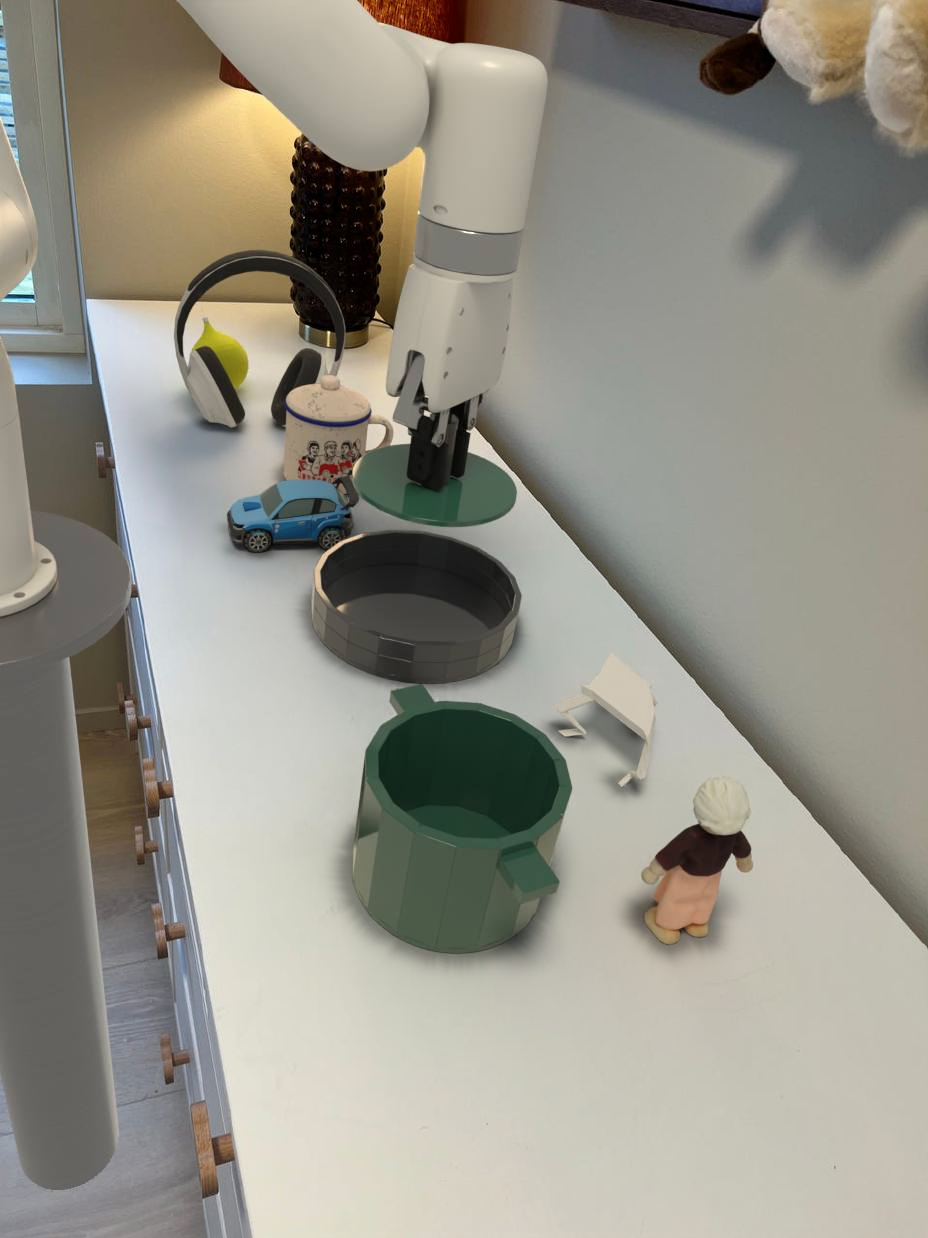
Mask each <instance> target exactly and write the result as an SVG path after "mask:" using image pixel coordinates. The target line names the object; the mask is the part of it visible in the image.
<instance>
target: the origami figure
mask: <svg viewBox="0 0 928 1238" xmlns="http://www.w3.org/2000/svg"><path fill="white" fill-rule="evenodd" d="M580 691H581V693H579V694H576V695H574V696H572V697H569V698H567V699H564V700H562V701H560V702H557V703H555V704H552V705H551V706H552V707H553V708H554V709H555V711H557V712H558V713H560V715H562V716H563V717H564V718H565V719H566V720H568V721H569V722H570V723H571V725H573V726H574V727H575V728H567V729H566V728H565V729H560V730H557V732H558V733H559V734H561V735H562V736H563V737H571V736H580V735H586V734H588V732H587V731H586V730H585V728H584V727H582V725H580V723H579V722H578V721H577V720H576V718H574V717H573V716H572V715H571V714H570V711H572V710H575V709H578V708H580V707H583V706H585V705H587V704H591V703H593V702H596V703H597V704H598V705H599V706H601V707H602V708H604V710H606V711H607V712H608V713H610V714H611V715H613V716H614V717H615V718H616V719H617V720H619V721H620V723H621V722H622V723H623V724H624V725H625V726H626V727H628V728H629V729H630V730H632V731H633V732H634V733H635V734H637V735H638V736H639V737H640V738H642V739H643V740H644V745H643V748H642V752H641V755H640V757H639V758H640V759H639V763H638V766H637V769H636V770H630V772H629V773H627V774H626V775H625V776H624V777H623V778H622V779H620V780H619V781H618V782H617V784H618V785H619V786H620V787H621V788H623V787H625V786H626V785H627V784H628V783H629V782H630V781H631V779H632V778H636V779H638V780H642V779H645V778H646V775H647V772H648V766H649V763H650V757H651V749H652V743H653V737H654V732H655V728H656V727H655V726H656V721H657V718H656V717H657V716H656V711H655V707H656V706H657V705H658V704H659V703H658V701H657V700H656V697H655V696H654V694H653V693H652V684H651V683H650V682H648V681H646V680H645V679H644V678H643V677H642V676H641V675H639V674H638V673H637V672H636V671H634V670H633V668H631V667H630V666H629V665H627V663H626V662H624V661H623V660H622V659H621V658H620V657H618V656H617V655H616V654H615V652H614V651H612V652H610V654H609V655H608V657H607V659H606V661H605V662H604V664H603V666H602V667H601V670H600V671H599V672H598V674H597V675H596V676H595V677H594V679H593V680H592V681H591V682H590V683H589V684H581V685H580Z"/></svg>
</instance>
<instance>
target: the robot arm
mask: <svg viewBox="0 0 928 1238" xmlns="http://www.w3.org/2000/svg"><path fill="white" fill-rule="evenodd" d="M176 2H177V3H178V4H179V5H180V7H182V8H183V9H184V10H185V11H186V12H187V14H188V15H189V16H190V17H191V18H192V19H193V20H194V22H195V23H196V24H197V25H198V26H199V28H200V29H201V30H202V31H203V32H204V33H205V35H206V36H207V37H208V38H209V40H211V41H212V43H213V44H214V45H215V46H216V47H217V49H218V50H219V51H220V52H221V53H222V55H223V56H224V57H226V58H227V60H228V61H229V62H230V64H232V65H233V66H234V68H236V70H238V72H239V73H241V75H242V76H243V77H244V78H245V79H246V80H247V81H248V82H249V83H250V84H251V86H253V87H254V88H255V89H256V90H257V91H258V92H259V93H260V94H261V95H262V96H263V97H264V98H265V99H266V100H267V101H269V103H270V104H271V105H273V106H274V108H276V110H278V112H280V113H281V114H282V115H283V116H284V117H285V118H286V119H287V120H288V121H289V122H290V123H291V124H292V125H293V126H294V127H295V128H296V129H297V130H298V131H299V132H300V133H301V134H302V135H304V137H306V138H307V140H309V141H310V142H311V143H312V144H313V145H315V147H316V148H317V149H319V150H320V151H321V152H322V153H323V154H325V155H326V156H328V157H329V158H330V159H331V160H332V161H333V160H334V161H336V162H337V163H339V164H341V165H342V166H344V167H348V168H350V169H353V170H356V171H361V172H377V171H378V172H379V171H382V170H386V169H389V168H392V167H394V166H397V165H398V164H400V163H401V162H402V161H404V160H405V159H406V158H407V157H408V156H409V155H410V154H411V153H412V152H413V151H414V150H415V148H420V149H421V151H422V153H423V164H422V174H421V182H420V189H419V190H420V191H419V200H418V209H417V216H416V217H417V219H416V225H415V227H416V228H415V237H414V245H413V253H412V254H413V256H412V262H413V263H412V264H410V265H409V266H408V269H407V272H406V274H405V278H404V282H403V285H402V289H401V292H400V296H399V301H398V304H397V308H396V309H397V310H396V315H395V319H394V325H393V331H392V336H391V343H390V349H389V354H388V355H389V356H388V362H387V369H386V377H385V378H386V379H385V391H386V393H387V395H388V396H390V397H391V398H398V399H397V403H396V406H395V409H394V410H393V414H392V422H394V423H396V424H399V425H401V426H403V427H406V429H407V435H408V436H410V443H409V444H410V451H409V459H408V467H407V477H408V479H410V480H412V481H414V482H416V483H419V484H421V485H423V486H426V487H428V488H430V489H432V490H435V491H437V490H439V489H441V488H442V487H443V481H444V474H445V467H446V460H447V453H448V446H449V445H448V444H446V443H444V440H445V435H446V429H447V423H448V417H449V413H451V414H454V415H455V416H457V417H458V418H459V424H458V431H457V438H456V444H455V451H454V458H453V464H452V471H451V476H453V477H456V478H460V477H462V476H463V475H464V473H465V466H466V460H467V454H468V452H469V446H470V439H471V435H472V433H471V431H473V429H474V428H475V425H476V423H477V415H478V408H479V407H480V406H481V404H482V403H483V401H482V400H483V399H484V396H486V394H487V393H488V392H489V391H490V390H491V389H492V388H493V387H494V386H495V385H496V384H497V383H498V382H499V380H500V377H501V374H502V369H503V367H504V360H505V356H506V350H507V343H508V337H509V329H510V320H511V312H512V300H513V285H514V279H515V278H516V277H517V272H518V265H519V258H520V254H521V248H522V241H523V236H524V229H525V224H526V217H527V212H528V207H529V202H530V201H529V200H530V195H531V189H532V185H533V177H534V173H535V172H534V171H535V165H536V160H537V154H538V148H539V144H540V143H539V142H540V138H541V137H540V135H541V130H542V124H543V118H544V113H545V106H546V100H547V94H548V85H549V81H548V72H547V69H546V67H545V65H544V64H543V63H542V61H541V60H540V59H538V58H536V57H535V56H533V55H531V54H528V53H525V52H523V51H519V50H516V49H511V48H506V47H501V46H495V45H489V44H482V43H481V44H480V43H472V42H457V43H450V42H446V41H442V40H438V39H435V38H431V37H427V36H423V35H421V34H418V33H415V32H412V31H410V30H406V29H403V28H400V27H397V26H394V25H391V24H387V23H383V22H378V21H377V20H376V19H375V18H374V16H372V14H370V12H369V11H368V10H367V9H366V8H365V7H364V6H363V5H362V4H361V2H360V1H358V0H176ZM25 184H26V183H25V182H24V179H23V176H22V173H21V171H20V168H19V165H18V162H17V159H16V157H15V153H14V151H13V148H12V145H11V142H10V139H9V137H8V134H7V130H6V128H5V125H4V122H3V119H2V117H1V115H0V303H1V302H2V301H3V300H4V299H5V297H7V296H8V295H9V294H10V293H11V292H13V291H14V290H15V289H16V288H17V287H18V286H19V285H20V284H21V283H22V282H24V280H25V278H27V276H28V275H29V274H30V272H31V270H32V269H33V267H34V265H35V263H36V260H37V256H38V252H39V231H38V230H39V229H38V224H37V220H36V215H35V212H34V209H33V205H32V202H31V198H30V195H29V193H28V190H27V188H26V185H25ZM425 412H428V413H429V414H431V413H433V414H435V418H434V423H433V422H432V420H431V419H430V417H429V415H425ZM22 436H23V435H22V428H21V421H20V411H19V405H18V398H17V390H16V382H15V379H14V372H13V368H12V364H11V361H10V356H9V355H8V352H7V349H6V347H5V344H4V341H3V339H2V335H1V334H0V617H2V616H6V615H10V614H13V613H15V612H18V611H21V610H24V609H26V608H27V607H29V606H31V605H33V604H35V603H37V602H38V601H39V600H41V599H42V598H44V597H45V596H46V595H47V594H48V593H49V592H50V591H51V590H52V588H53V586H54V584H55V583H56V580H57V566H56V561H55V558H54V556H53V555H52V553H51V552H50V551H49V550H48V549H47V548H45V547H44V546H43V545H41V544H40V543H37V542H35V541H34V535H33V527H32V519H31V510H32V509H31V503H30V494H29V486H28V479H27V472H26V471H27V470H26V463H25V462H26V461H25V454H24V453H25V452H24V446H23V437H22Z"/></svg>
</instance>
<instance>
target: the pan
mask: <svg viewBox="0 0 928 1238" xmlns="http://www.w3.org/2000/svg"><path fill="white" fill-rule="evenodd" d="M311 589H312V590H311V602H310V603H311V621H312V626H313V628H314V631H315V633H316V635H317V636H318V638H319V639H320V641H321V642H322V643H323V645H324V646H325V647H327V648H328V650H330V652H332V653H333V654H334V655H335V656H337V657H338V658H339V659H341V660H342V661H344V662H346V663H347V664H349V665H350V666H353V667H355V668H357V669H359V670H361V671H363V672H366V673H368V674H371V675H373V676H376V677H381V678H384V679H387V680H392V681H397V682H403V683H411V684H412V683H413V684H444V683H445V684H446V683H452V682H453V683H454V682H459V681H462V680H467V679H470V678H473V677H475V676H478V675H481V674H483V673H485V672H486V671H489V670H491V669H492V668H493V667H495V666H496V665H497V664H498V663H500V662H501V661H502V660H503V658H505V657H506V655H507V653H508V652H509V650H510V648H511V646H512V645H513V640H514V636H515V631H516V626H517V623H518V617H519V612H520V608H521V602H522V596H523V595H522V592H521V589H520V587H519V585H518V582H517V579H516V577H515V575H513V573H512V572H511V571H510V570H509V569H508V568H507V566H506V565H504V564H503V563H502V561H501V560H499V559H497V558H495V557H494V556H492V555H491V554H489V553H488V552H486V551H485V550H483V549H482V548H480V547H478V546H476V545H473V544H470V543H468V542H465V541H463V540H460V539H457V538H455V537H453V536H449V535H444V534H440V533H439V534H438V533H435V532H429V531H425V530H414V529H413V530H412V529H411V530H410V529H385V530H376V531H368V532H362V533H360V534H357V535H353V536H352V537H347V538H344V540H343V541H340V542H339V543H337V544H336V545H334V546H333V547H332V548H330V549H329V550H326V551H325V552H323V553H322V554H321V556H320V558H319V560H318V561H317V564H316V565H315V567H314V569H313V575H312V588H311Z"/></svg>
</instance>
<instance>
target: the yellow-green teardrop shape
mask: <svg viewBox="0 0 928 1238" xmlns="http://www.w3.org/2000/svg"><path fill="white" fill-rule="evenodd" d="M201 311H203V307H202V306H201ZM202 321H203V331H202V334H201V336H199V338H198V339H197V341H196V342H195V343H194V345H193V347H192V349H191V351H190V353H191V352H192V351H193V350H195V349H197V348H199V347H202V346H208V347H211V349H212V350H213V351H214V352H215V353H216V355H217V357H218V358H219V360H220V362H221V364H222V365H223V367H224V369H225V371H226V372H227V374H228V376H229V378H230V380H231V383H232V385H233V387H234V389H235V390H236V389H237V388H239V387H240V386H241V385H242V384H243V383H244V382H245V380H246V378H247V375H248V371H249V358H248V357H249V356H248V355H247V351H246V350H245V348H244V346H243V345H242V344H241V343H240V342H239V341H238V340H236V339H235V338H234V337H232V336H230V335H228V334H226V333H223V332H222V331H221V332H220V331H218V330H217V329H215V328H214V327H213V325H211V323H210V321H209V318H208V317H205V316H204V317H202Z"/></svg>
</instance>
